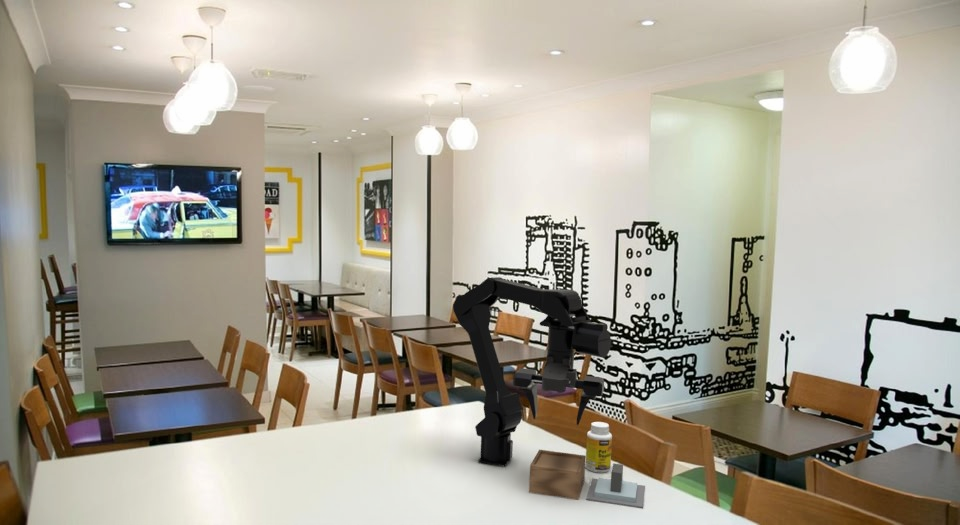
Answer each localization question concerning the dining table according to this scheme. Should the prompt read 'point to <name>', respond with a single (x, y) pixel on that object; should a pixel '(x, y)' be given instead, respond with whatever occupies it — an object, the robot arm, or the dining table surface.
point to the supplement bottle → (598, 448)
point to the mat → (638, 502)
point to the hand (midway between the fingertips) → (556, 421)
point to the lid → (616, 486)
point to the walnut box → (557, 474)
